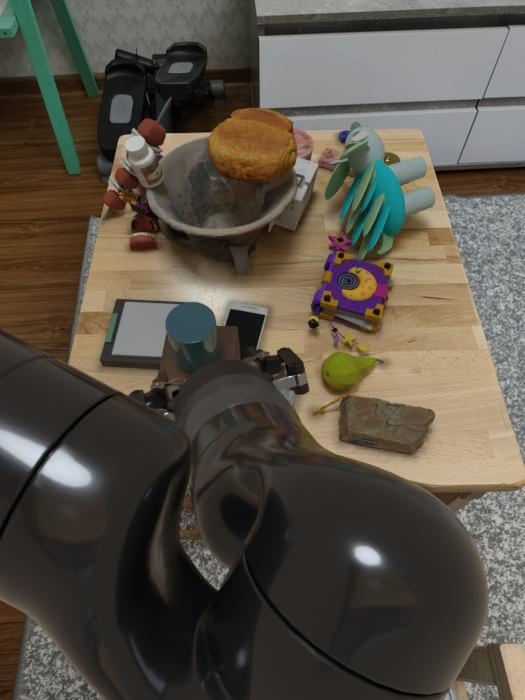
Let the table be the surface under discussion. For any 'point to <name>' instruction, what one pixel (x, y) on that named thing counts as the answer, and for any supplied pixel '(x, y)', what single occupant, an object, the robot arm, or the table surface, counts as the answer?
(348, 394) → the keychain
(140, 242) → the dentures model
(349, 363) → the fruit
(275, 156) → the bread loaf
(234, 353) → the stand
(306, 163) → the ink box
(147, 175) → the pill bottle
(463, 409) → the table surface
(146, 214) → the toy car
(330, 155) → the toy
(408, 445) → the stone
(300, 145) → the container
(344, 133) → the blue irregular piece
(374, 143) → the teal bird figurine
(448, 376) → the table surface
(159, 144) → the skewer
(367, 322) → the book
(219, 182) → the bowl
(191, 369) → the jar
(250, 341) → the smartphone
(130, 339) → the scale
